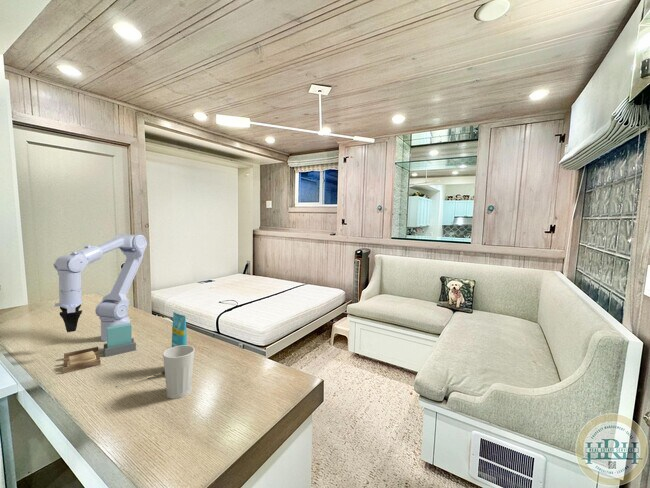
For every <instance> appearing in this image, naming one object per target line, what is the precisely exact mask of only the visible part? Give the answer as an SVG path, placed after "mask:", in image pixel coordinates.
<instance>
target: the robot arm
mask: <svg viewBox="0 0 650 488" xmlns="http://www.w3.org/2000/svg"><path fill="white" fill-rule="evenodd" d="M147 246H148V242H147V239H146V237H145V236H144V235H142V234H125V233H121V234H118V235H115V236H114V237H113V238H111V239H109V240H107V241H105V242H103V243H101V244H99V245H97V246H96V245H93V244H91V245H90V244H89V245H87V244H86V245H84V248H82V249H80V250H73V251H71V253H70V254H62V255H60V256H59V257H58V258H57V259H55V262H54V263H52V264H53V268H54V269H55V271H57V276H58V298H59V299H58V300H59V302H57V303H54V307H55V308H56V307H59V309H60V311H59V316H60V317H61V319H62V320H63V323H64V326H65V330H66V332H67V333H73V332H76V330H77V328H78V324H79V323H78V322H79V319H80V317H81V315H82V313H83V310H82V309H81V306H82V304H83V299H82V296H83V295H82V292H83V291H82V271H83V270H85V269H86V266H89V265H90V264H92V263H94V262H96V261H99V260H100V259H102V257H103V255H104V254H106V253H109V252H111V251H114V250H117V249H119V250H120V251H121V252H122V254H123V255H125V257H126V259H125V261H124V263H123V265H122V267H121V270H120V272H119V274H118V276H117V278H116V280H115V282H114V284H113V287H112V288H111V291H110V292H109V293H108V294H107V295H105V296H103V297H102V298H101V301H100V302H99V303H97V305H96V307H95V315H96V316H97V317H98V319H99V320H100V341H101V342H106V343H107V327H111V326H117V325H123V324H129V323H131V321H130V317H129V315H128V312H129V306H130V302H131V301H130V300H129V298H128V297H127V295H128V292H129V291H130V288H131V286H132V283H133V281H134V278H135V277H136V275H137V272H138V270H139V268H140V266H141V263H142V261H143V259H144V253H145V251H146V248H147ZM83 272H84V271H83ZM80 309H81V310H80Z"/></svg>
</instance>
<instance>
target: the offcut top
mask: <svg viewBox="0 0 650 488" xmlns="http://www.w3.org/2000/svg"><path fill="white" fill-rule="evenodd" d="M91 359H95V353H94V352H93V351H90V352H86V353H82V354H78V355H74V356H70V357H69V363H70V365H72V364H76V363H79V362H83V361H87V360H91Z"/></svg>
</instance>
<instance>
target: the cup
mask: <svg viewBox="0 0 650 488" xmlns="http://www.w3.org/2000/svg"><path fill="white" fill-rule="evenodd" d="M195 350H196V348H195V347H194V346H192V345H188V344H187V345H181V346H175V347H172V346H171V347H169V348H167V349H166V350H164V351H163V353H162V357H163V366H164V378H165V379H164V380H165V386H166V387H165V389H166V397H167V398H169V399H173V400H175V399H181V398H184V397H186V396H188V395H189V394H190V393H191V392H192V390H193V389H192V387H193V386H192V383H193V373H194V372H193V371H194V360H195Z"/></svg>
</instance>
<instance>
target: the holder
mask: <svg viewBox="0 0 650 488" xmlns="http://www.w3.org/2000/svg"><path fill="white" fill-rule="evenodd" d="M134 340H135V339H134V337H132V343H129V344H125V345H120V346H115V347H110V348H107V342H106V343H103V354H104V358H108V357H113V356H116V355H117V356H118V355H121V354H126V353H131V352H134V351H137V342H135V341H134Z"/></svg>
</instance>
